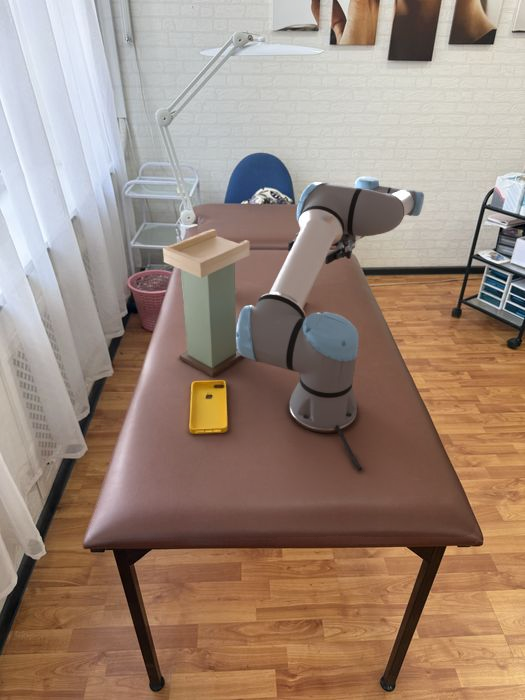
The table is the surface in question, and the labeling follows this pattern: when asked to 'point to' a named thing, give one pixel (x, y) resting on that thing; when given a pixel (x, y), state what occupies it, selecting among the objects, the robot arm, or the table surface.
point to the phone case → (208, 407)
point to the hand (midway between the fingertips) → (307, 253)
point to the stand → (208, 298)
